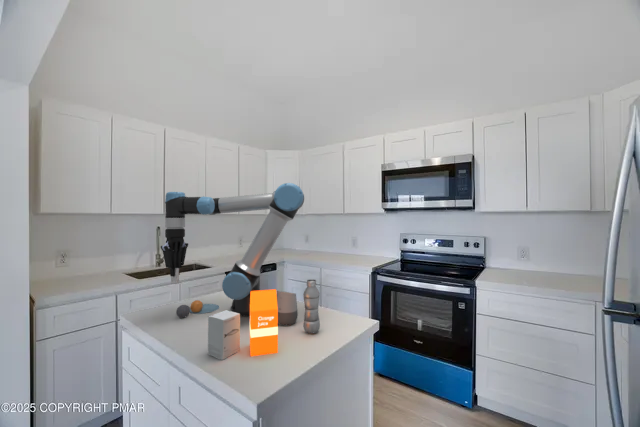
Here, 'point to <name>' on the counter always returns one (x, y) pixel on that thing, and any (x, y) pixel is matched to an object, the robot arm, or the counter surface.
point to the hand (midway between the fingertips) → (174, 283)
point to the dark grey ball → (182, 311)
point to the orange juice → (263, 322)
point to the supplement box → (223, 334)
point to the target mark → (207, 308)
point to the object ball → (196, 306)
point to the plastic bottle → (311, 307)
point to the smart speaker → (287, 308)
